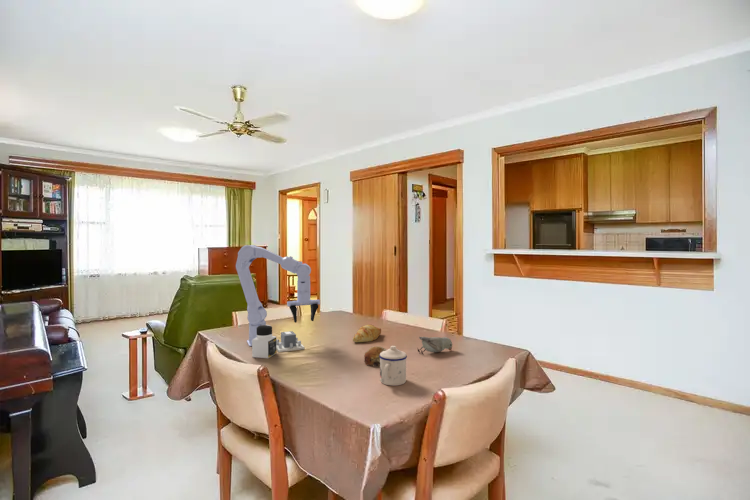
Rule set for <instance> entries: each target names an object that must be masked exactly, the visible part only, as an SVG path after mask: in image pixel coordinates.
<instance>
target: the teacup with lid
mask: <svg viewBox="0 0 750 500" xmlns="http://www.w3.org/2000/svg"><path fill="white" fill-rule="evenodd" d="M379 357H380V366H379V381H380V383H381V384H383V385H386V386H393V387H395V386H402V385H404V384H405V383H406V381H407V358H408V356H407V353H406V352H405V351H402V350H400V349H398V348H397V346H396V345H391V346H390V347H389V348H388V349H386V351H383V352H381V353H380V355H379Z"/></svg>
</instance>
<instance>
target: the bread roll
mask: <svg viewBox="0 0 750 500" xmlns="http://www.w3.org/2000/svg"><path fill="white" fill-rule="evenodd" d="M386 350H387V348H385V347H383V346H379V345H376V346H371V347H369V349H368V350H367V351H366V352H365V353H364V357H363V358H364V364H365V365H367V366H370V367H380V357H379V355H380V353H381V352H383V351H386Z"/></svg>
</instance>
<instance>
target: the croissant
mask: <svg viewBox="0 0 750 500" xmlns="http://www.w3.org/2000/svg"><path fill="white" fill-rule="evenodd" d="M381 333H382V329H381V328H380V327H376V326H375V325H373V324H365V325H362V326H360V327H359V329H358V330H357V332H356V333H355V334H354V336H353V337H352V342H353V343H366V342H369V343H370V342H373V341H375V340H377V339H378V337H379V336H380V335H381Z"/></svg>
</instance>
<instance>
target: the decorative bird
mask: <svg viewBox="0 0 750 500" xmlns="http://www.w3.org/2000/svg"><path fill="white" fill-rule="evenodd" d="M419 339H420V340H421V344H422V346H421V348H420V349H419V348H417V353H419V354H421V355H422V356H425V353H424V352H425V351H427V352H430V353H439V352H440V353H441V352H442V351H444V350H445V349H446V350H449V351H450V350H451V351H452V349H453V341H452V340H451V338H449V337H446V336H445V337H444V336H443V337H439V336H433V337H432V336H431V337H428V336H418V340H419ZM423 348H424V350H422V349H423Z"/></svg>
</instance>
